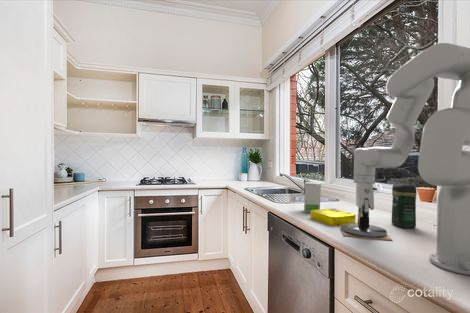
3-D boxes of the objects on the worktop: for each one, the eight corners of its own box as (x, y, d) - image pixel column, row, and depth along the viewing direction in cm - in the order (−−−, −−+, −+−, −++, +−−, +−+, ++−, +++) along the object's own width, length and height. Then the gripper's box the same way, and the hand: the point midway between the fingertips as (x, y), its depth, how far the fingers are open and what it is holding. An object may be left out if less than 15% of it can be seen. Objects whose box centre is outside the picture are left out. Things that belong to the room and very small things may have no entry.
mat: (392, 241, 90) (392, 239, 90) (343, 236, 94) (343, 235, 94) (380, 228, 105) (380, 228, 105) (339, 225, 110) (339, 224, 110)
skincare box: (303, 212, 135) (304, 182, 135) (304, 209, 141) (304, 181, 141) (320, 213, 132) (321, 183, 132) (320, 211, 139) (320, 182, 139)
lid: (392, 239, 90) (392, 219, 90) (343, 235, 94) (344, 215, 94) (380, 228, 105) (380, 210, 105) (339, 224, 110) (339, 207, 110)
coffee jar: (419, 229, 105) (420, 185, 105) (398, 228, 106) (399, 184, 106) (407, 223, 114) (408, 182, 115) (388, 222, 116) (389, 182, 116)
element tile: (308, 218, 122) (308, 208, 122) (332, 216, 128) (332, 207, 128) (331, 227, 108) (332, 215, 108) (357, 224, 114) (357, 213, 114)
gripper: (380, 181, 91) (379, 233, 91) (369, 178, 107) (369, 221, 106) (357, 180, 93) (356, 230, 93) (350, 177, 109) (349, 220, 109)
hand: (363, 225), depth 100 cm, fingers closed on lid, 3 cm apart
